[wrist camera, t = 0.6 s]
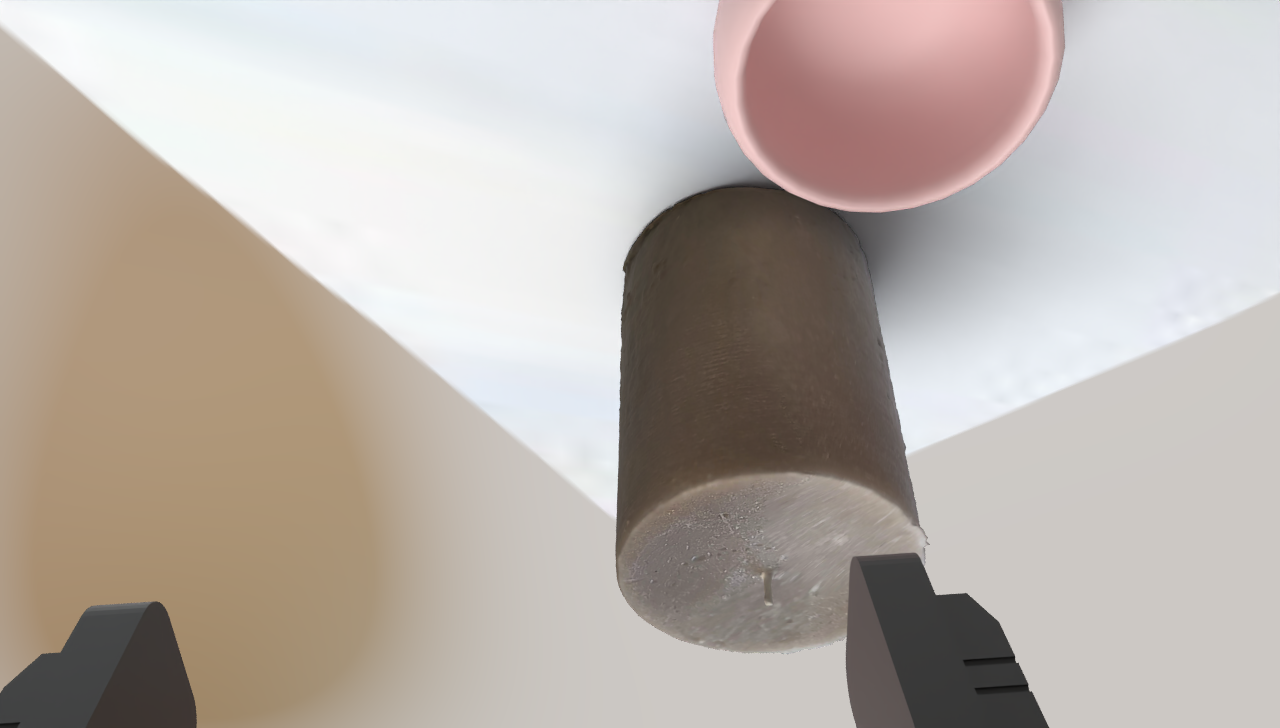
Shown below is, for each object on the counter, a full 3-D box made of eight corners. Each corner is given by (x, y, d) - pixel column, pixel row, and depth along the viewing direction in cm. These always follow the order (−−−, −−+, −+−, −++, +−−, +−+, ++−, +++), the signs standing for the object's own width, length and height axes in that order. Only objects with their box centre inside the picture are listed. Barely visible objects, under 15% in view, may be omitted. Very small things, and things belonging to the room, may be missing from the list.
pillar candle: (576, 245, 45) (548, 571, 34) (811, 141, 41) (863, 467, 30) (693, 399, 50) (702, 718, 40) (908, 320, 47) (980, 645, 36)
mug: (804, 167, 42) (819, 272, 38) (648, -54, 36) (646, 40, 32) (1135, -9, 37) (1197, 88, 33) (1015, -295, 32) (1070, -223, 27)
